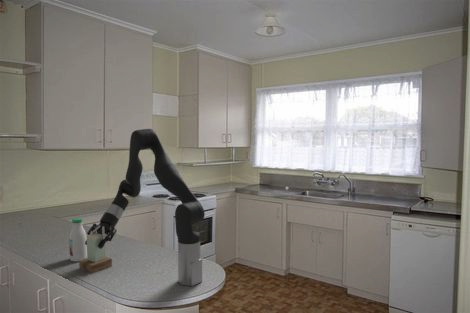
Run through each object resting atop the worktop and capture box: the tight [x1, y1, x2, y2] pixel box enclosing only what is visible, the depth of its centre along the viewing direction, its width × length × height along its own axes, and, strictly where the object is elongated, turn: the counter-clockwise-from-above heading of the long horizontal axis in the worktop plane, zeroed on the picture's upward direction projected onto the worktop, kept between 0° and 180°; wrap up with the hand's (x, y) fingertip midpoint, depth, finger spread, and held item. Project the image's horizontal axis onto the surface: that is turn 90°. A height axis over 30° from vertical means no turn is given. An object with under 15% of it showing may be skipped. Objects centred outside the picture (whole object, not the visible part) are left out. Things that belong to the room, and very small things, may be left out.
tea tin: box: [86, 232, 106, 262], centre depth 161 cm, size 5×5×11 cm
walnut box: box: [78, 256, 113, 275], centre depth 162 cm, size 10×10×4 cm
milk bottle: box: [68, 217, 87, 262], centre depth 171 cm, size 8×8×20 cm
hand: (92, 246), depth 160 cm, fingers open, 8 cm apart
